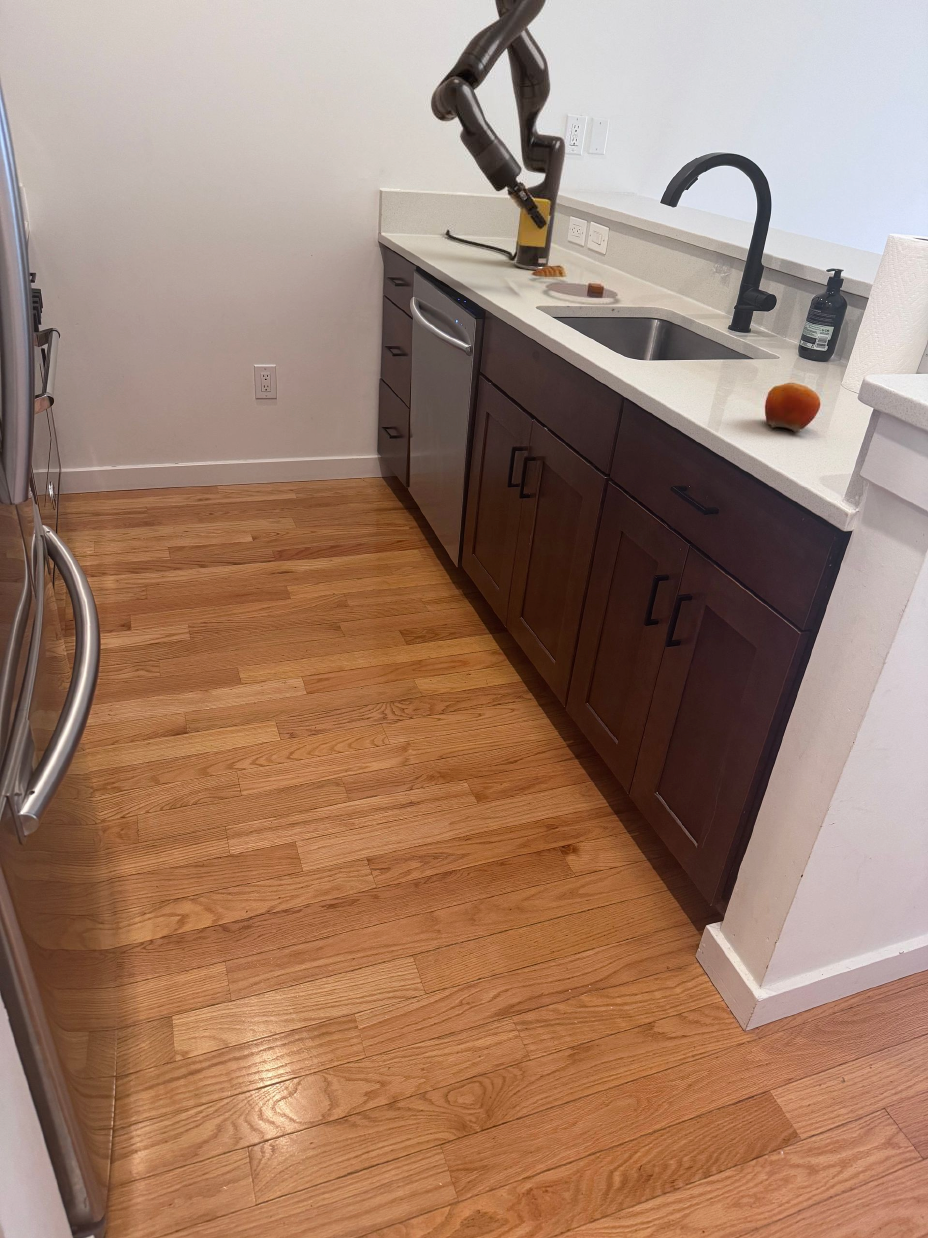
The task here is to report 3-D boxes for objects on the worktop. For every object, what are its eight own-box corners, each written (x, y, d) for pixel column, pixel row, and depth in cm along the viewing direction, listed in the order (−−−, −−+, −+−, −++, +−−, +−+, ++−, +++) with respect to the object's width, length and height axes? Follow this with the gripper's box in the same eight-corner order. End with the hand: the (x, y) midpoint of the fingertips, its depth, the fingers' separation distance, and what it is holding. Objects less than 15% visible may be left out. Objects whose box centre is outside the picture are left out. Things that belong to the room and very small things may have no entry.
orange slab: (587, 288, 220) (588, 282, 219) (599, 289, 220) (600, 283, 219) (591, 292, 216) (592, 285, 216) (603, 292, 217) (604, 286, 216)
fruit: (759, 423, 133) (773, 372, 133) (755, 436, 141) (769, 388, 141) (814, 433, 131) (828, 381, 131) (807, 446, 139) (821, 397, 139)
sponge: (516, 242, 213) (522, 196, 208) (541, 244, 214) (546, 198, 209) (520, 244, 209) (525, 198, 204) (544, 246, 210) (550, 201, 205)
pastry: (542, 283, 229) (544, 268, 227) (525, 278, 233) (526, 263, 231) (567, 282, 234) (569, 267, 232) (550, 277, 238) (552, 262, 237)
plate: (538, 286, 225) (539, 280, 224) (605, 291, 227) (606, 285, 227) (553, 301, 209) (554, 294, 209) (625, 306, 212) (626, 300, 211)
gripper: (515, 153, 194) (560, 217, 202) (504, 149, 206) (547, 209, 214) (489, 177, 196) (534, 240, 204) (480, 172, 208) (523, 231, 216)
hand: (541, 224), depth 209 cm, fingers closed on sponge, 4 cm apart
